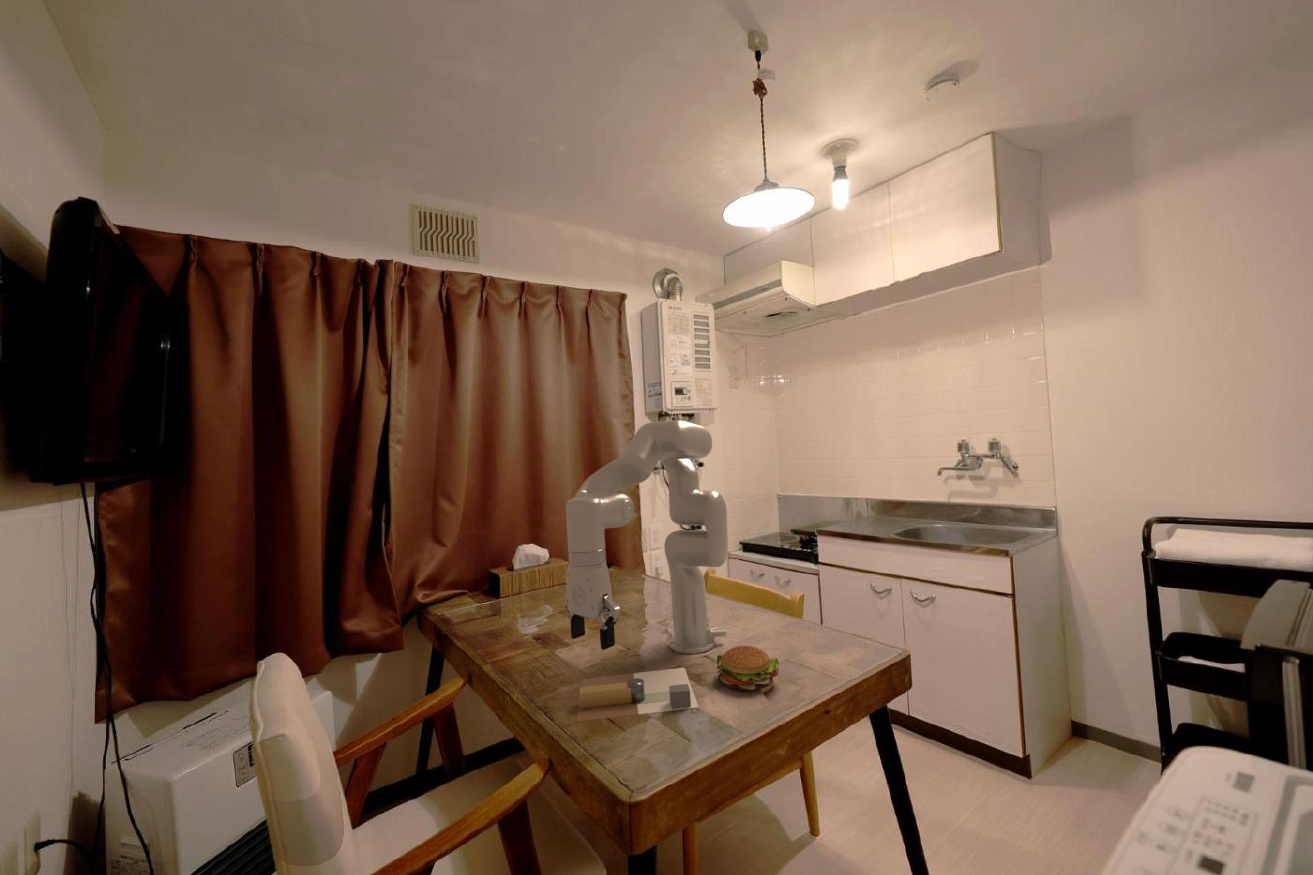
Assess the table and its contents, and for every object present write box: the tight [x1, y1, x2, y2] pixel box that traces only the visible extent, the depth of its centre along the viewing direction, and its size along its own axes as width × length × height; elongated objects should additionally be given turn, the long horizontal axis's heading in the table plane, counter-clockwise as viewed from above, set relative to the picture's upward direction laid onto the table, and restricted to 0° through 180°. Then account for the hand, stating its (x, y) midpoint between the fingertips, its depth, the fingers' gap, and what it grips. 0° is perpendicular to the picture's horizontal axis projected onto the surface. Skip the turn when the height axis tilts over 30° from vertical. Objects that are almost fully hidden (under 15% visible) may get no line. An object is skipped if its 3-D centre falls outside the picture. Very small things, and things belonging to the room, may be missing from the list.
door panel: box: [576, 667, 699, 723], centre depth 114 cm, size 25×19×5 cm
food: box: [716, 645, 780, 694], centre depth 117 cm, size 14×14×8 cm
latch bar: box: [579, 678, 645, 709], centre depth 110 cm, size 14×4×4 cm, turn 96°
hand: (592, 642), depth 104 cm, fingers open, 9 cm apart
